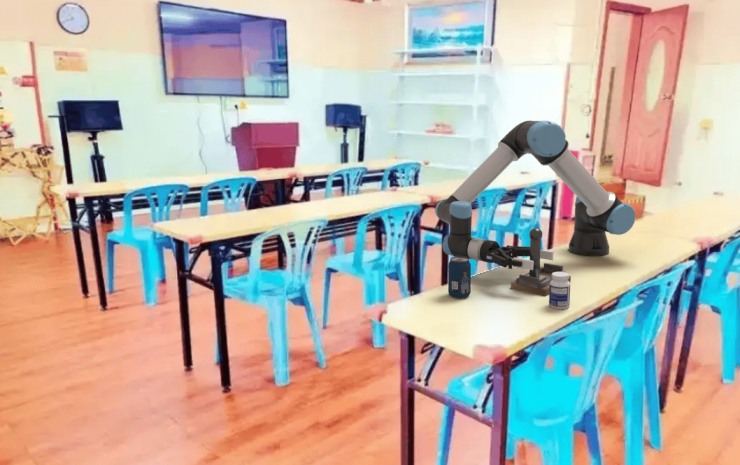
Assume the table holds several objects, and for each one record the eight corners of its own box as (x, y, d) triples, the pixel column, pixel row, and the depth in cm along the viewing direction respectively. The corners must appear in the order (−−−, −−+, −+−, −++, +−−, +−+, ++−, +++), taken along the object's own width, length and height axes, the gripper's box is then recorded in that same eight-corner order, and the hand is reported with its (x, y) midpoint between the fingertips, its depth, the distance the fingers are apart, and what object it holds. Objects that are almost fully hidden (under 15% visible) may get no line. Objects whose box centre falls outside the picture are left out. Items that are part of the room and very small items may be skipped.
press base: (535, 275, 193) (536, 261, 192) (572, 282, 184) (572, 267, 183) (509, 288, 180) (509, 273, 179) (547, 296, 171) (547, 280, 170)
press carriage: (529, 279, 182) (531, 225, 178) (545, 282, 178) (548, 227, 174) (522, 283, 178) (524, 228, 174) (538, 286, 174) (540, 230, 171)
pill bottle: (554, 301, 167) (556, 269, 165) (572, 306, 163) (574, 273, 161) (545, 306, 163) (546, 274, 161) (563, 311, 159) (565, 277, 157)
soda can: (454, 290, 179) (454, 254, 177) (474, 294, 175) (474, 257, 173) (444, 297, 174) (444, 260, 171) (464, 300, 170) (464, 263, 167)
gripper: (503, 253, 198) (560, 263, 184) (463, 269, 181) (523, 281, 166) (503, 233, 197) (561, 241, 182) (463, 247, 179) (524, 257, 165)
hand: (543, 260), depth 174 cm, fingers open, 13 cm apart
